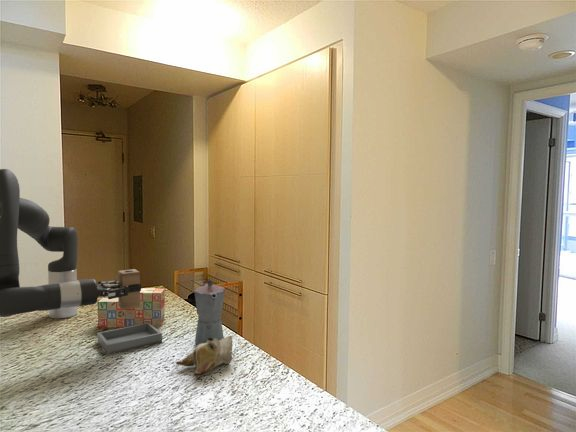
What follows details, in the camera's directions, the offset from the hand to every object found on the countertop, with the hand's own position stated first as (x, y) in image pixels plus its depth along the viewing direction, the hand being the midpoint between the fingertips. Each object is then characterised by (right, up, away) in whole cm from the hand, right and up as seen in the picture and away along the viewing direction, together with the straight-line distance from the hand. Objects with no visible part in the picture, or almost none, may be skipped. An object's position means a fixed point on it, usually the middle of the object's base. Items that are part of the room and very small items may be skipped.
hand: (137, 285), depth 122 cm
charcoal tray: (-2, -18, 0) cm, 18 cm away
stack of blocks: (-8, -17, +16) cm, 25 cm away
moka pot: (+22, -18, +1) cm, 29 cm away
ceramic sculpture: (+26, -20, -16) cm, 36 cm away
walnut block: (-2, -6, -1) cm, 7 cm away
